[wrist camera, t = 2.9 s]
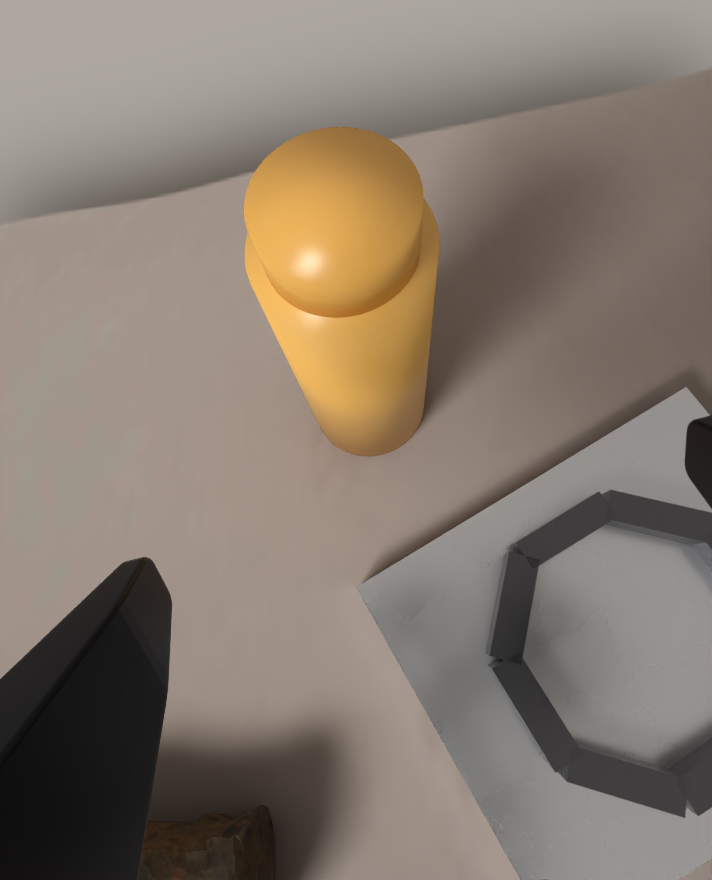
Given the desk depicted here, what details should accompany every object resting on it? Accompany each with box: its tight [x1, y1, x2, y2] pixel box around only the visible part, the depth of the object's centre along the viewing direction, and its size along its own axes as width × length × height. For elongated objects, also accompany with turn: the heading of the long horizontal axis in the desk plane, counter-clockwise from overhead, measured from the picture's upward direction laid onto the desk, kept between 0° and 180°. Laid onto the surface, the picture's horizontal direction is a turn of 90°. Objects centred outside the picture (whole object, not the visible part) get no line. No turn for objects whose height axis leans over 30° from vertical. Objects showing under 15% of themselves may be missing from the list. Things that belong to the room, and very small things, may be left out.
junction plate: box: [356, 387, 712, 880], centre depth 19 cm, size 14×12×2 cm
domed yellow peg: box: [244, 127, 439, 456], centre depth 17 cm, size 4×4×12 cm
